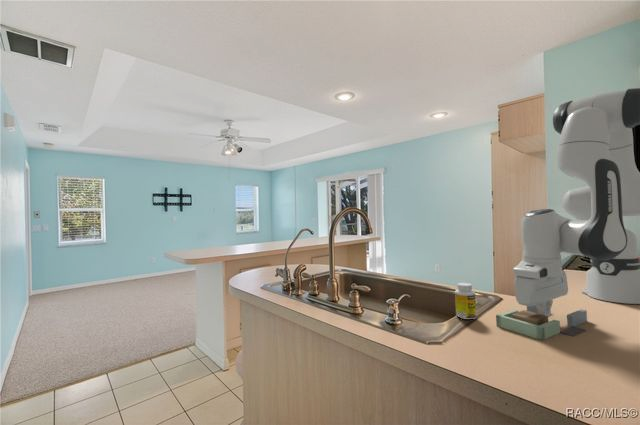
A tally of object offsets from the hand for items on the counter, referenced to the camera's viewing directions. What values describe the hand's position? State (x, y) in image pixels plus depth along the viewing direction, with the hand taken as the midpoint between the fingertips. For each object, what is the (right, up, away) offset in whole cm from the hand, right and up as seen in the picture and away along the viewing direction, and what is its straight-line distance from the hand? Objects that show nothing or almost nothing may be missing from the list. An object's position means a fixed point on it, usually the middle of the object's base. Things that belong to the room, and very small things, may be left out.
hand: (544, 315), depth 84 cm
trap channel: (-1, -2, -1) cm, 2 cm away
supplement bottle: (-19, -3, +6) cm, 20 cm away
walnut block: (-7, -2, -4) cm, 8 cm away
